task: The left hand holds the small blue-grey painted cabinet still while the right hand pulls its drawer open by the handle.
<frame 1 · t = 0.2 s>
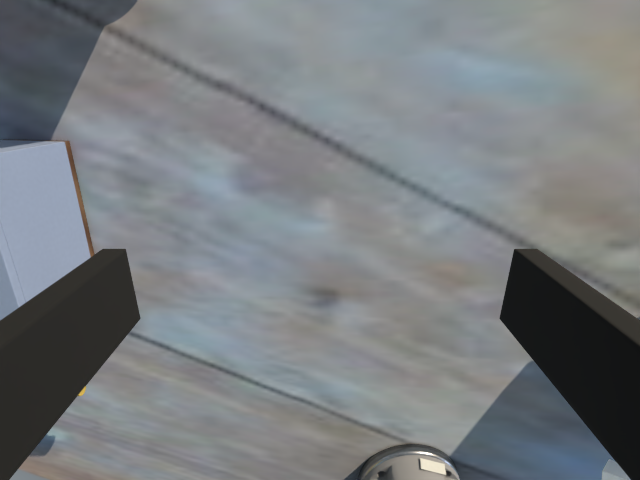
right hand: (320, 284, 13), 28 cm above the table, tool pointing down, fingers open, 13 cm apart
drawer: (36, 299, 38), point 6 cm above the table, slide at 0.8 cm
cabinet: (60, 232, 42), on the table
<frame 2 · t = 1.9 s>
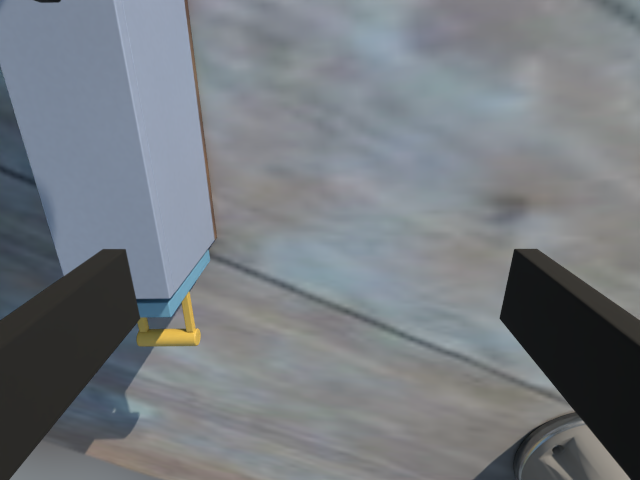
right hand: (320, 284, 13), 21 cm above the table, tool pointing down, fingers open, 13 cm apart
drawer: (145, 204, 27), point 6 cm above the table, slide at 0.8 cm
cabinet: (163, 124, 31), on the table
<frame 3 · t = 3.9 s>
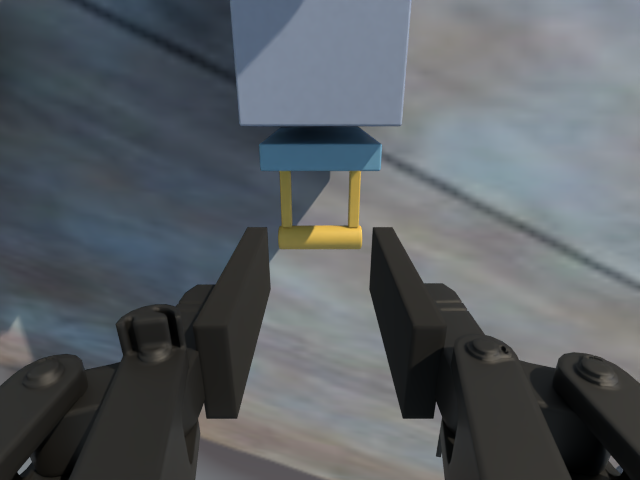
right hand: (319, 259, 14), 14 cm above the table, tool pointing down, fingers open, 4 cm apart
drawer: (320, 16, 18), point 6 cm above the table, slide at 0.8 cm
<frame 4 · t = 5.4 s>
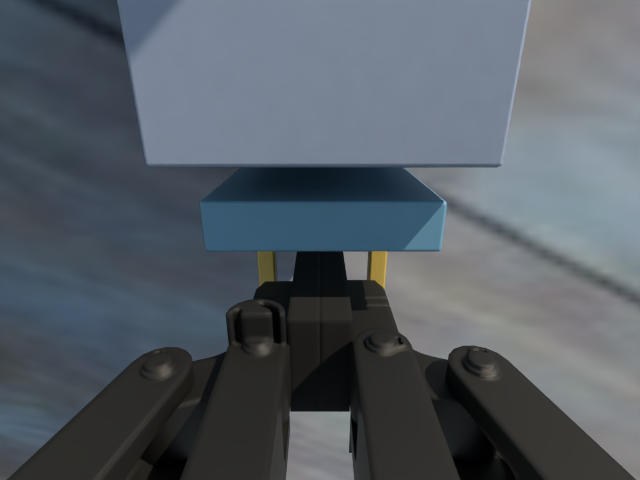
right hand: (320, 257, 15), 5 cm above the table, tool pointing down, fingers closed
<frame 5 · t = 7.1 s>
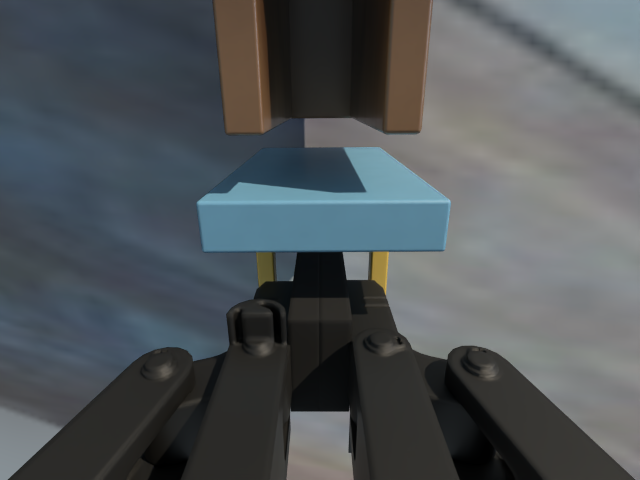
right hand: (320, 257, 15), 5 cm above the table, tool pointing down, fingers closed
when the left hand's fingers open (8 cm above the table, at t = 8.9 s): cabinet stays where it is, on the table.
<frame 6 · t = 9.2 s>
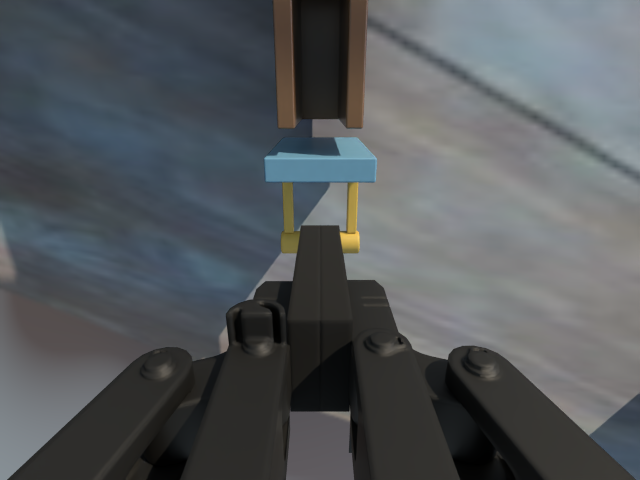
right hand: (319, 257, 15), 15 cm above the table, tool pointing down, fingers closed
drawer: (320, 37, 20), point 6 cm above the table, slide at 9.5 cm
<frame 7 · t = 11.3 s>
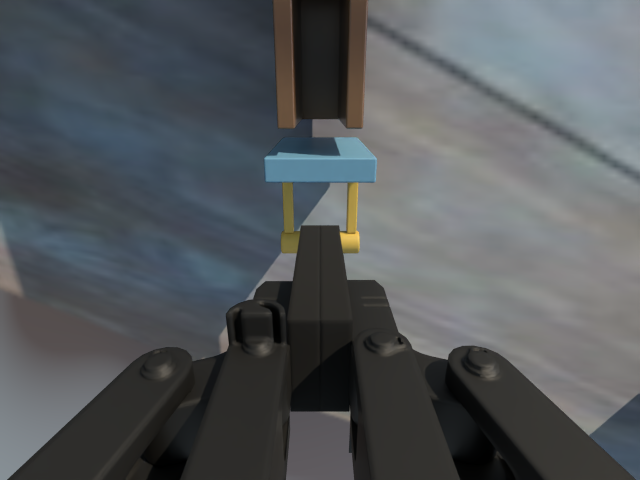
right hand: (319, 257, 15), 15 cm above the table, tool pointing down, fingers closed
drawer: (320, 37, 20), point 6 cm above the table, slide at 9.5 cm
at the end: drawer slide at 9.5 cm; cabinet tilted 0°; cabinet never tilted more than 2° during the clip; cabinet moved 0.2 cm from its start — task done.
